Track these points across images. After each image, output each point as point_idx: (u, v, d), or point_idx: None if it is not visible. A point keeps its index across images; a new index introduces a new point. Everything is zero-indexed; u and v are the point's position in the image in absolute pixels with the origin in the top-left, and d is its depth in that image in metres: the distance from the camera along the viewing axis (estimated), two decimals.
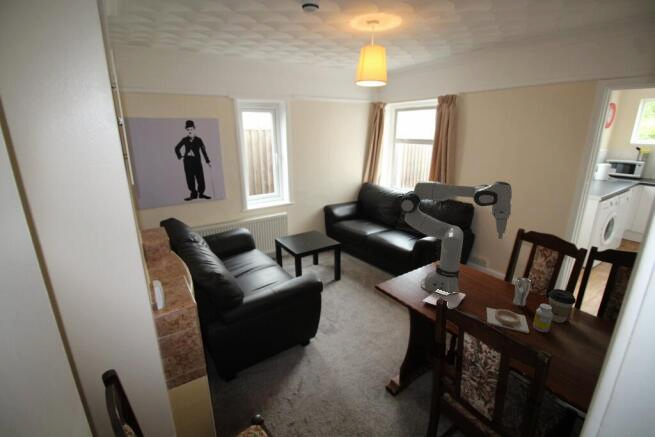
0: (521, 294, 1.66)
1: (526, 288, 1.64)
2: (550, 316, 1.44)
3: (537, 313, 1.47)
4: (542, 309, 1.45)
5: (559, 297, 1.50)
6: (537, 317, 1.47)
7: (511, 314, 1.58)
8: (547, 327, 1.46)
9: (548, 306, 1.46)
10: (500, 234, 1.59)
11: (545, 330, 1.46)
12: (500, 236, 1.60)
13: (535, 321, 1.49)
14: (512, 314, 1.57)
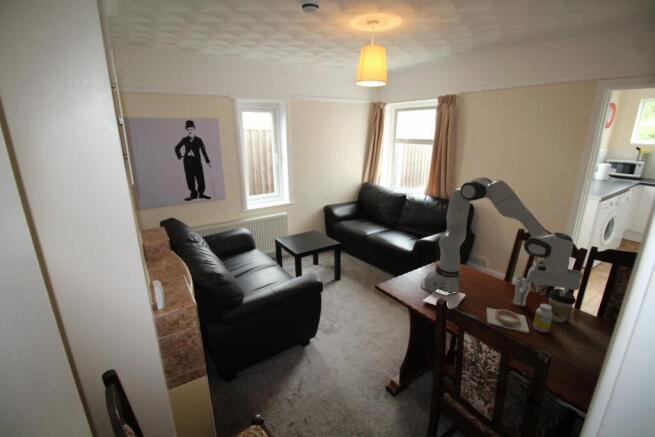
0: (521, 294, 1.66)
1: (526, 288, 1.64)
2: (550, 316, 1.44)
3: (537, 313, 1.47)
4: (542, 309, 1.45)
5: (559, 297, 1.50)
6: (537, 317, 1.47)
7: (511, 314, 1.58)
8: (547, 327, 1.46)
9: (548, 306, 1.46)
10: None
11: (545, 330, 1.46)
12: (536, 288, 1.45)
13: (535, 321, 1.49)
14: (512, 314, 1.57)
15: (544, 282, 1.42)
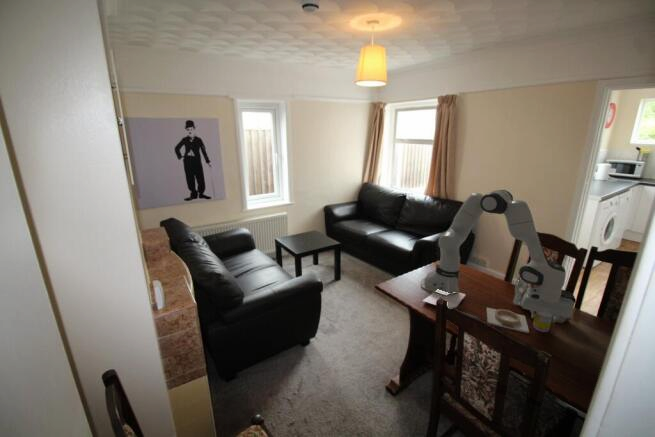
0: (521, 294, 1.66)
1: (526, 288, 1.64)
2: (550, 316, 1.44)
3: (537, 313, 1.47)
4: None
5: None
6: (537, 317, 1.47)
7: (511, 314, 1.58)
8: (547, 327, 1.46)
9: None
10: (531, 312, 1.50)
11: (545, 330, 1.46)
12: None
13: (535, 321, 1.49)
14: (512, 314, 1.57)
15: (537, 309, 1.46)
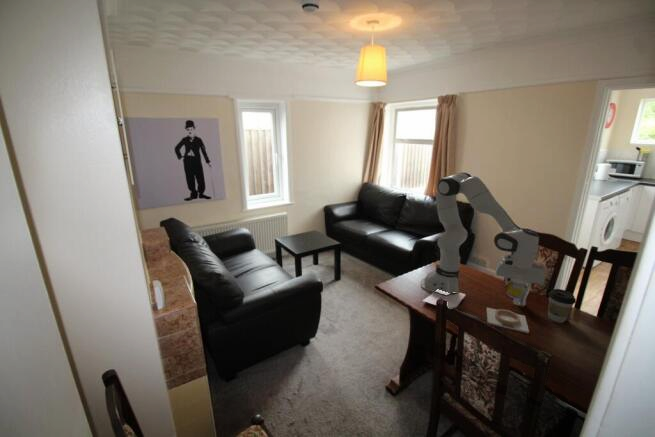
0: None
1: None
2: (523, 283, 1.45)
3: (511, 280, 1.49)
4: (516, 276, 1.47)
5: (559, 297, 1.50)
6: (511, 284, 1.49)
7: (511, 314, 1.58)
8: (520, 294, 1.47)
9: None
10: (505, 279, 1.51)
11: (518, 297, 1.48)
12: None
13: (509, 288, 1.50)
14: (512, 314, 1.57)
15: (511, 276, 1.48)
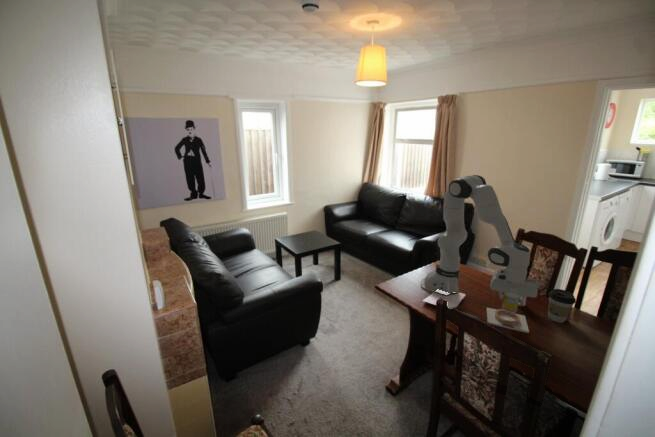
0: None
1: None
2: (517, 297, 1.48)
3: (505, 294, 1.51)
4: None
5: (559, 297, 1.50)
6: (505, 298, 1.51)
7: (511, 314, 1.58)
8: (514, 308, 1.50)
9: None
10: None
11: (513, 311, 1.50)
12: (500, 295, 1.54)
13: (503, 302, 1.53)
14: (512, 314, 1.57)
15: (505, 290, 1.50)
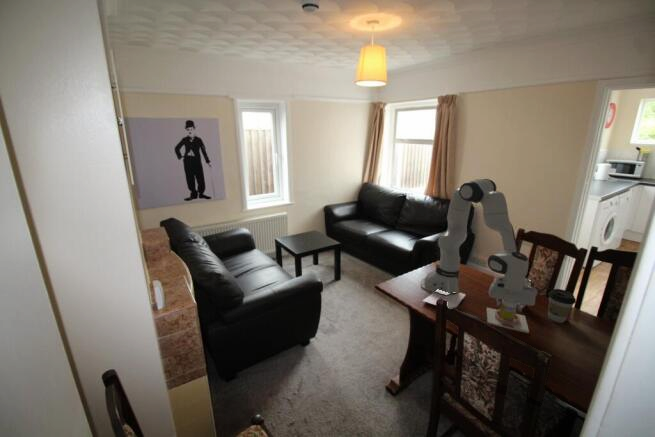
0: None
1: None
2: (514, 306, 1.50)
3: (502, 304, 1.53)
4: (507, 300, 1.51)
5: (559, 297, 1.50)
6: (502, 308, 1.53)
7: None
8: (512, 317, 1.52)
9: None
10: (496, 300, 1.55)
11: (510, 320, 1.52)
12: (497, 303, 1.55)
13: (501, 311, 1.55)
14: None
15: (503, 298, 1.52)
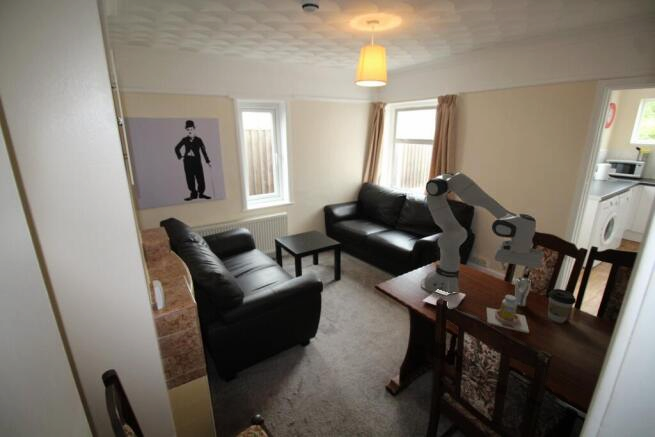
0: (521, 294, 1.66)
1: (526, 288, 1.64)
2: (514, 306, 1.50)
3: (502, 304, 1.53)
4: (507, 300, 1.51)
5: (559, 297, 1.50)
6: (502, 308, 1.53)
7: None
8: (512, 317, 1.52)
9: (513, 297, 1.52)
10: None
11: (510, 320, 1.52)
12: None
13: (501, 311, 1.55)
14: None
15: (509, 261, 1.51)
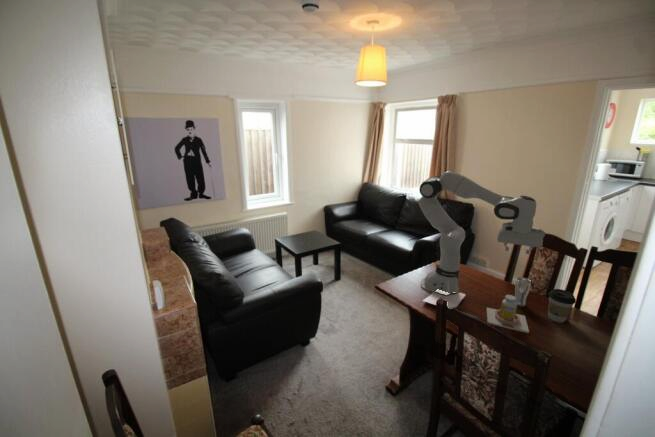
0: (521, 294, 1.66)
1: (526, 288, 1.64)
2: (514, 306, 1.50)
3: (502, 304, 1.53)
4: (507, 300, 1.51)
5: (559, 297, 1.50)
6: (502, 308, 1.53)
7: None
8: (512, 317, 1.52)
9: (513, 297, 1.52)
10: None
11: (510, 320, 1.52)
12: (505, 247, 1.60)
13: (501, 311, 1.55)
14: None
15: (511, 241, 1.56)
